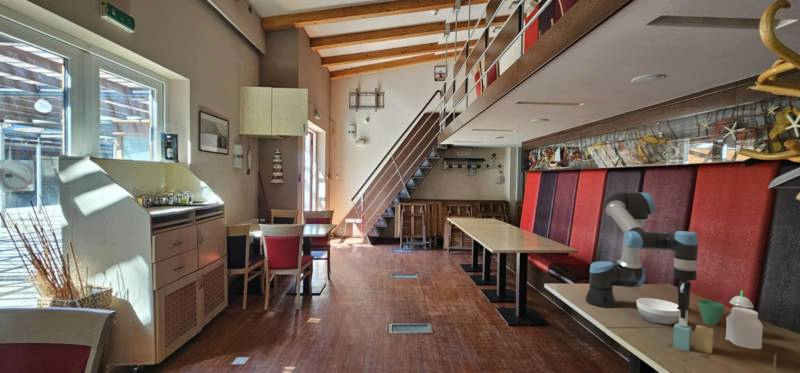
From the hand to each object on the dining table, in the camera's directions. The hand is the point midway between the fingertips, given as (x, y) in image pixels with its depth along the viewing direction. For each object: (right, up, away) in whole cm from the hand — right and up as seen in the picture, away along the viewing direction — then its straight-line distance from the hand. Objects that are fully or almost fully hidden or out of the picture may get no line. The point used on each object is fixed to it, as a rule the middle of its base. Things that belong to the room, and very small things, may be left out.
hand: (683, 325), depth 151 cm
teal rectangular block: (0, -9, 0) cm, 9 cm away
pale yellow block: (+7, -10, -1) cm, 12 cm away
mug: (+38, -10, +32) cm, 50 cm away
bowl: (+11, -10, +30) cm, 34 cm away
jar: (+30, -11, +6) cm, 33 cm away
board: (+3, -10, 0) cm, 11 cm away
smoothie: (+41, -11, +18) cm, 46 cm away
